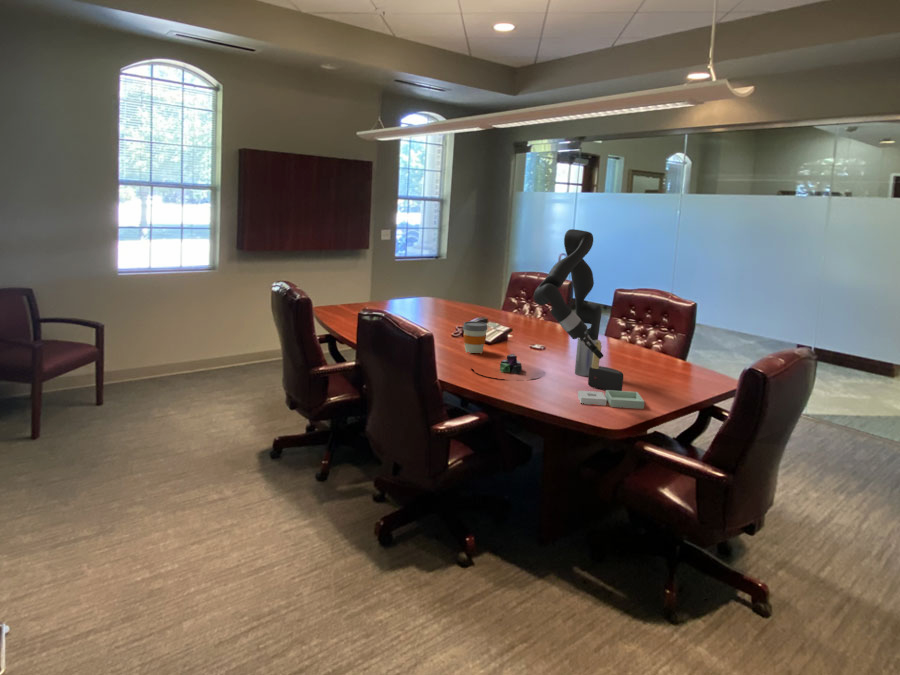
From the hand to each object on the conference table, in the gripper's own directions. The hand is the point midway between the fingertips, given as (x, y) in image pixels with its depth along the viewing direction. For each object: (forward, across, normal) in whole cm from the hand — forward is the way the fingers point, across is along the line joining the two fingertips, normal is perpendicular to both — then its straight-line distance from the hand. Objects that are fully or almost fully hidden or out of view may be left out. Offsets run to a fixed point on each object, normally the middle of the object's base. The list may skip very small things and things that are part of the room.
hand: (600, 356), depth 259 cm
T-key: (+2, 0, +5) cm, 5 cm away
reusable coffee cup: (-23, +74, +50) cm, 92 cm away
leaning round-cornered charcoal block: (+18, +17, +9) cm, 26 cm away
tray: (+21, 0, +6) cm, 22 cm away
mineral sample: (-11, +40, +39) cm, 57 cm away
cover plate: (+12, 0, +15) cm, 19 cm away
